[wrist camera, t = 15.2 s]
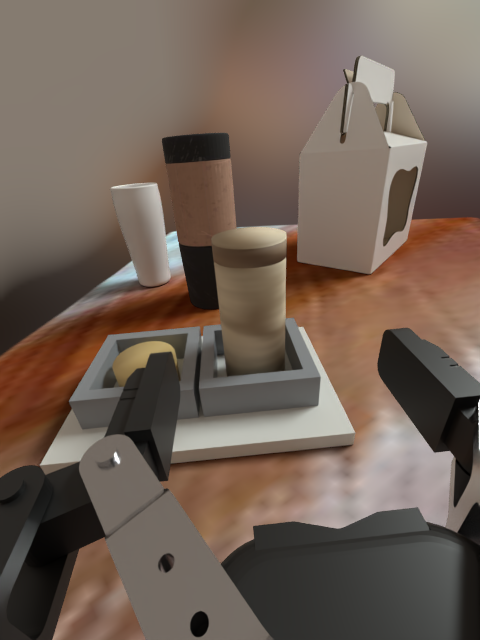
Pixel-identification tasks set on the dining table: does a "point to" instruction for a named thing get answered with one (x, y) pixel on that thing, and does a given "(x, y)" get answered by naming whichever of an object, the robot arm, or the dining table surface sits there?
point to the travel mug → (200, 205)
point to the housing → (210, 399)
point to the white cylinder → (143, 230)
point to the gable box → (359, 174)
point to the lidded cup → (251, 298)
